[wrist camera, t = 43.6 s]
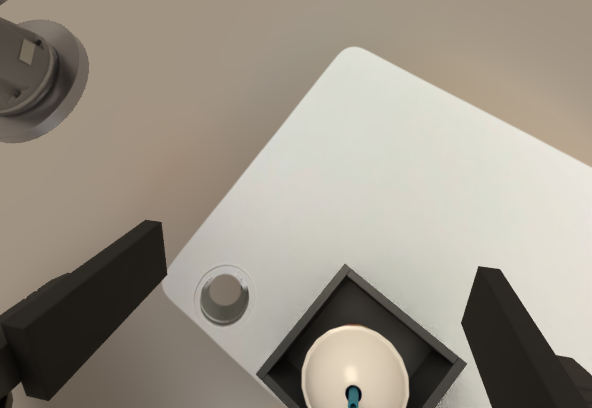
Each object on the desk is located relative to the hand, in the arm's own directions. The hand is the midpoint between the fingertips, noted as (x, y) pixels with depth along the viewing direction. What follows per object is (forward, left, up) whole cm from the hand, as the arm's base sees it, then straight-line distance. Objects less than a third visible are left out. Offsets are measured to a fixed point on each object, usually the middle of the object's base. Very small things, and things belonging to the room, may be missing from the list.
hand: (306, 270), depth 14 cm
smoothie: (+3, -7, -29) cm, 30 cm away
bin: (+3, -7, -30) cm, 31 cm away
